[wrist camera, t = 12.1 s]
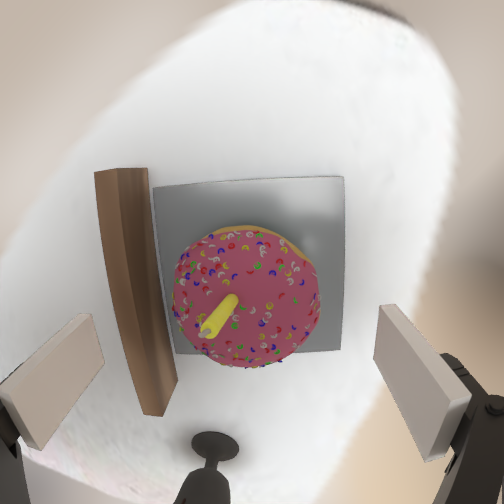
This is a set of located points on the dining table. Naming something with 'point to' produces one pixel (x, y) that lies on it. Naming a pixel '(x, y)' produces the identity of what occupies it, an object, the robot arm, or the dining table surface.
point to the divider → (136, 283)
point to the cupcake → (245, 296)
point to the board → (269, 217)
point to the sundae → (208, 471)
